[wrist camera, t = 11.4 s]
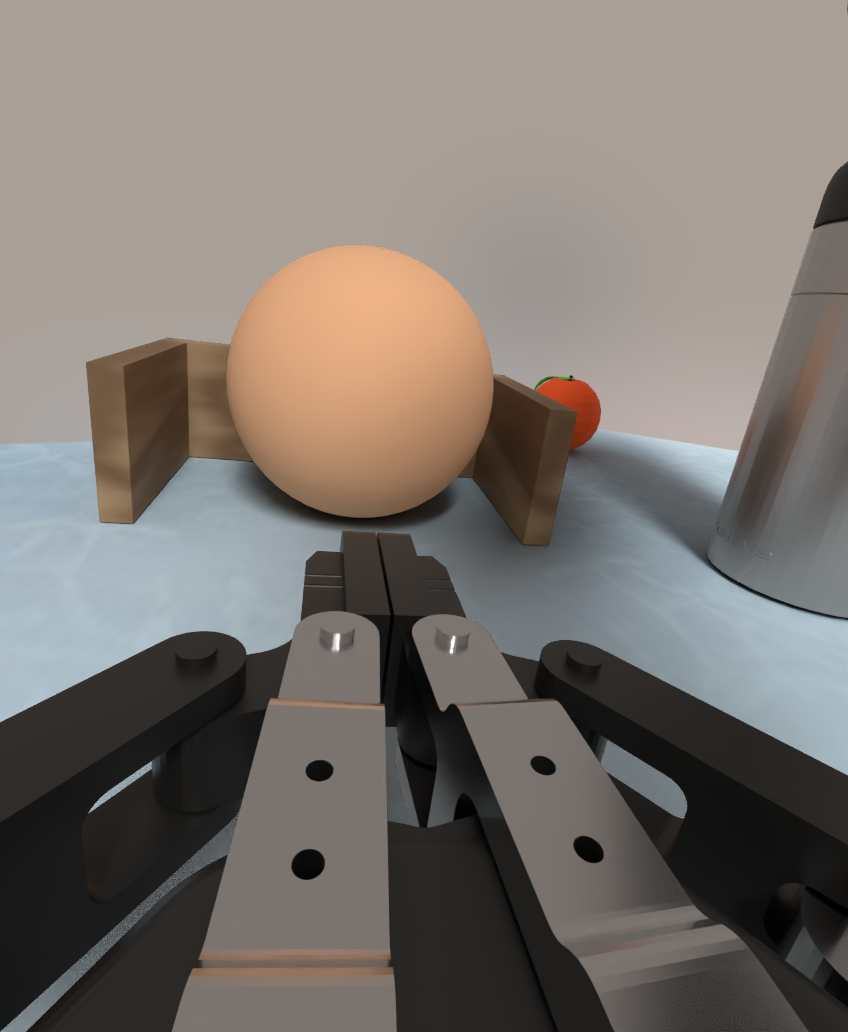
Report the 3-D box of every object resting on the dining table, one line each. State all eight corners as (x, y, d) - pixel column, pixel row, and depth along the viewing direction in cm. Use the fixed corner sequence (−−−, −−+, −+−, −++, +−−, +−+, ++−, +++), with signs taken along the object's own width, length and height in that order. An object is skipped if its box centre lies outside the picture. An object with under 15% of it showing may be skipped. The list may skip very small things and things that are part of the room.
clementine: (498, 438, 56) (511, 366, 54) (546, 436, 60) (560, 369, 58) (557, 461, 51) (574, 381, 48) (606, 457, 54) (625, 383, 52)
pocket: (486, 473, 44) (503, 375, 41) (548, 545, 31) (578, 412, 29) (171, 449, 40) (167, 337, 37) (99, 521, 27) (86, 362, 25)
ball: (484, 577, 27) (430, 502, 40) (572, 274, 24) (482, 300, 37) (178, 524, 24) (228, 461, 37) (230, 166, 21) (265, 236, 34)
